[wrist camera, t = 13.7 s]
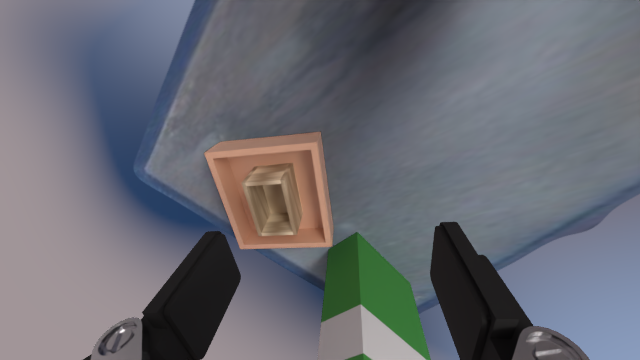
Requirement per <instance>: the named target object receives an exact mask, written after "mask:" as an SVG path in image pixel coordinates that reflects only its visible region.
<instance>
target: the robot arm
mask: <svg viewBox="0 0 640 360" xmlns="http://www.w3.org/2000/svg"><path fill="white" fill-rule="evenodd" d="M430 276H431V281H432V284H433V287H434V289H435V292H436V295H437V297H438V300H439V303H440V306H441V308H442V311H443V314H444V317H445V319H446V322H447V325H448V328H449V330H450V333H451V336H452V338H453V341H454V344H455V347H456V349H457V352H458V355H459V357H460V360H589V358H588V357H587V355H586V354H585V353H584V352H583V351H582V350H581V349H580V348H579V347H578V346H577V345H576V344H575V343H573V342H572V341H571V340H570V339H568V338H567V337H565V336H563V335H562V334H560V333H558V332H556V331H553V330H551V329H548V328H544V327H539V326H533V324H532V323H531V321H530V320H529V318H528V317H527V316H526V314H525V313H524V311H523V310H522V308H521V307H520V305H519V304H518V302H517V301H516V300H515V298H514V296H513V295H512V293H511V292H510V291H509V289H508V288H507V286H506V285H505V283H504V282H503V280H502V279H501V277H500V276H499V275H498V273H497V271H496V270H495V268H494V267H493V265H492V264H491V263H490V261H489V260H488V259H487V257H486V256H484V255H478V254H477V252H476V251H475V249H474V248H473V246H472V245H471V243H470V242H469V240H468V238H467V237H466V235H465V234H464V232H463V231H462V229H461V228H460V226H459V225H458V223H457V222H441V223H440V225H439V226H436V227H435V232H434V242H433V251H432V260H431V270H430ZM240 279H241V275H240V272H239V269H238V267H237V264H236V262H235V259H234V257H233V254H232V252H231V250H230V247H229V244H228V242H227V240H226V237H225V235H224V234H222V233H221V232H220V231H211V232H206V233H205V234H204V235H203V236H202V238H201V239H200V240H199V242H198V243H197V244H196V245H195V246H194V248H193V249H192V250H191V252H190V253H189V254H188V255H187V257H186V258H185V259H184V260H183V262H182V263H181V264H180V265H179V267H178V268H177V269H176V270H175V272H174V273H173V274H172V275H171V277H170V278H169V279H168V281H167V282H166V283H165V284H164V285H163V287H162V288H161V289H160V291H159V292H158V293H157V294H156V296H155V297H154V298H153V299H152V301H151V302H150V303H149V304H148V306H147V307H146V308H145V310H144V311H143V312H142V313H143V315H144V317H143V318H142V319H141V320H140V319H139V318H134V317H133V318H128V319H125V320H123V321H120V322H119V323H117V324H115V325H114V326H112V327H111V328H110V329H109V330H107V331H106V332H105V333H104V334H103V335H102V336H101V337H100V338H99V340H98V341H97V343H96V344H95V346H94V349H93V351H92V354H91V355H90V356H88V357H86V358H85V359H83V360H200V359H202V358H203V357H204V356H205V354H206V352H207V350H208V348H209V345H210V344H211V341H212V340H213V337H214V335H215V333H216V331H217V329H218V327H219V325H220V323H221V321H222V318H223V316H224V314H225V312H226V310H227V308H228V306H229V304H230V302H231V299H232V297H233V295H234V293H235V291H236V289H237V287H238V285H239V282H240Z"/></svg>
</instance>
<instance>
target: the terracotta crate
mask: <svg viewBox="0 0 640 360" xmlns="http://www.w3.org/2000/svg"><path fill="white" fill-rule="evenodd" d="M204 154H205V157H206V159H207V162H208V165H209V167H210V170H211V172H212V175H213V178H214V180H215V183H216V186H217V188H218V191H219V194H220V196H221V199H222V202H223V204H224V207H225V210H226V212H227V215H228V218H229V220H230V223H231V226H232V228H233V231H234V234H235V236H236V239H237V241H238V244H239V247H240V249H266V248H303V247H332V242H333V230H334V227H333V220H332V212H331V205H330V197H329V190H328V182H327V175H326V167H325V160H324V153H323V145H322V138H321V132H312V133H302V134H293V135H283V136H273V137H263V138H253V139H243V140H233V141H224V142H219V143H218V144H216V145H215V146H213V147H212V148H210V149H209V150H208V151H206V152H205V153H204ZM284 163H293V166H294V171H295V176H296V180H297V185H298V190H299V195H300V200H301V205H302V210H303V215H302V219H301V222H300V226H299V229H298V233H297V235H278V236H258V233H257V230H256V227H255V224H254V220H253V217H252V214H251V211H250V208H249V205H248V202H247V199H246V196H245V193H244V190H243V187H242V182H243V180H244V179H245V178H246V177H247V176H248V174H249V173H250V172H251V171H252V169H253V168H254V167H255V166H260V165H272V164H284Z"/></svg>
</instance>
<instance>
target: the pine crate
mask: <svg viewBox="0 0 640 360" xmlns="http://www.w3.org/2000/svg"><path fill="white" fill-rule="evenodd" d="M242 187H243V190H244V193H245V196H246V199H247V202H248V205H249V208H250V211H251V214H252V217H253V220H254V224H255V227H256V230H257V233H258V236H278V235H297V233H298V229H299V226H300V222H301V219H302V215H303V210H302V205H301V200H300V195H299V190H298V185H297V180H296V176H295V171H294V166H293V163H284V164H272V165H260V166H255V167H254V168H253V169H252V171H251V172H250V173H249V174H248V176H247V177H246V178H245V179H244V180H243V182H242Z"/></svg>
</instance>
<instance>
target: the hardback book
mask: <svg viewBox="0 0 640 360" xmlns="http://www.w3.org/2000/svg"><path fill="white" fill-rule="evenodd" d="M318 360H431V359H430V355H429V352H428V348H427V344H426V340H425V337H424V333H423V329H422V326H421V322H420V318H419V314H418V311H417V307H416V303H415V299H414V296H413V292H412V288H411V285H410V283H409V282H408V281H407V280H406V279H405V278H404V277H403V276H402V275H401V274H400V273H399V272H398V271H397V270H396V269H395V268H394V267H393V266H392V265H391V264H390V263H389V262H388V261H387V260H386V259H385V258H384V257H382V256H381V255H380V254H379V253H378V252H377V251H376V250H375V249H374V248H373V247H372V246H371V245H370V244H369V243H368V242H367V241H366V240H365V239H364V238H363V237H362V236H361V235H360V234H359V233H358V232H356V233H355V234H353V235H351V236H350V237H348V238H347V239H345V240H343V241H342V242H340V243H338V244H337V245H335V246H334V247H332V248H330V249H329V250H328V260H327V270H326V280H325V290H324V300H323V310H322V319H321V330H320V339H319V350H318Z"/></svg>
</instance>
